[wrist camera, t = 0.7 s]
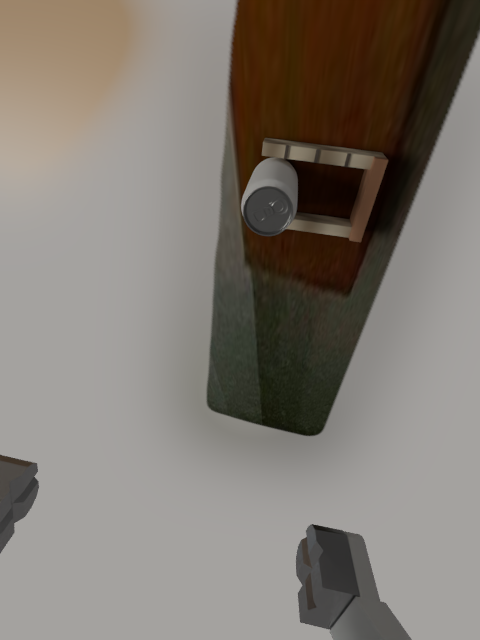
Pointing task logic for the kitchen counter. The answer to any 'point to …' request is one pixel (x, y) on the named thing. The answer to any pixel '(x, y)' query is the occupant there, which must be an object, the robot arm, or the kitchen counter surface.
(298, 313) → the kitchen counter surface
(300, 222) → the wooden rack
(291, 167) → the can
